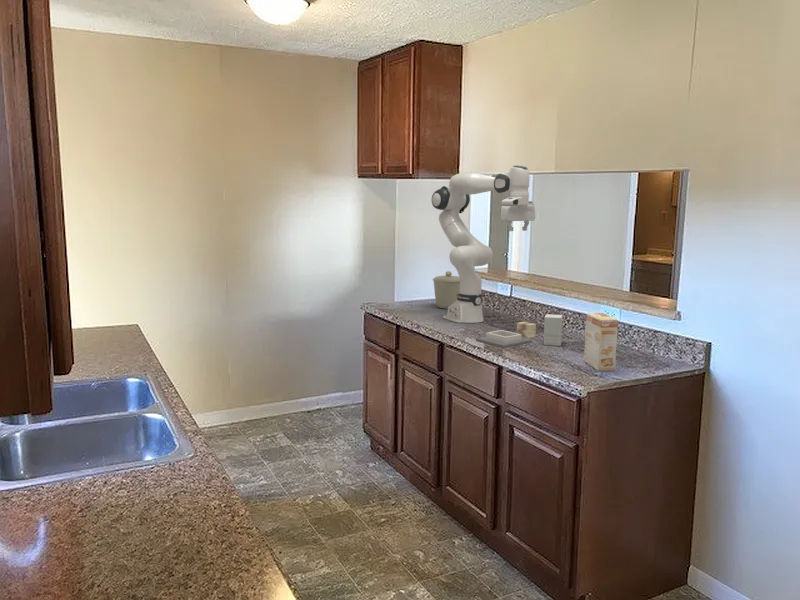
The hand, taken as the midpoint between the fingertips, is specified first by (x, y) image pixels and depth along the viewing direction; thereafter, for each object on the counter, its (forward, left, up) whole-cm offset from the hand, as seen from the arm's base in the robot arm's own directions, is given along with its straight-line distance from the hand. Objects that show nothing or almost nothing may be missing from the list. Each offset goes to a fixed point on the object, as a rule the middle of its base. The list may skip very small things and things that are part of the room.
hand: (517, 230), depth 310 cm
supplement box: (+29, -7, -48) cm, 57 cm away
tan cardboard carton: (+11, -4, -48) cm, 49 cm away
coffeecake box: (+64, -22, -48) cm, 83 cm away
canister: (-67, +17, -48) cm, 84 cm away
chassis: (+13, -21, -48) cm, 54 cm away
